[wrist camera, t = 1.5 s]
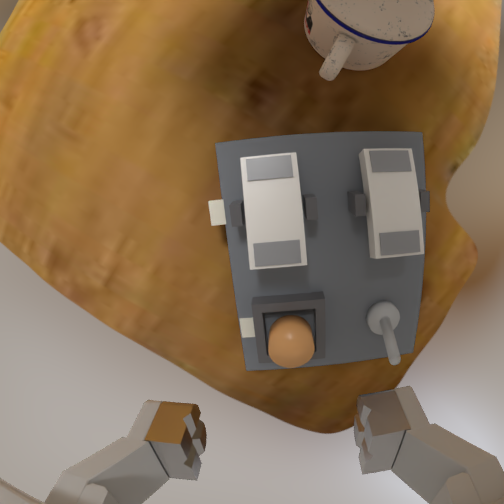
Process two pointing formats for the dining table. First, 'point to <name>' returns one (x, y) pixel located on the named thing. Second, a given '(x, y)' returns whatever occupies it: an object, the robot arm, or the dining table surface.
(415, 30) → the teacup with lid
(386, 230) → the rocker
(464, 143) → the dining table surface
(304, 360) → the button
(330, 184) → the panel
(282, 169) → the rocker
